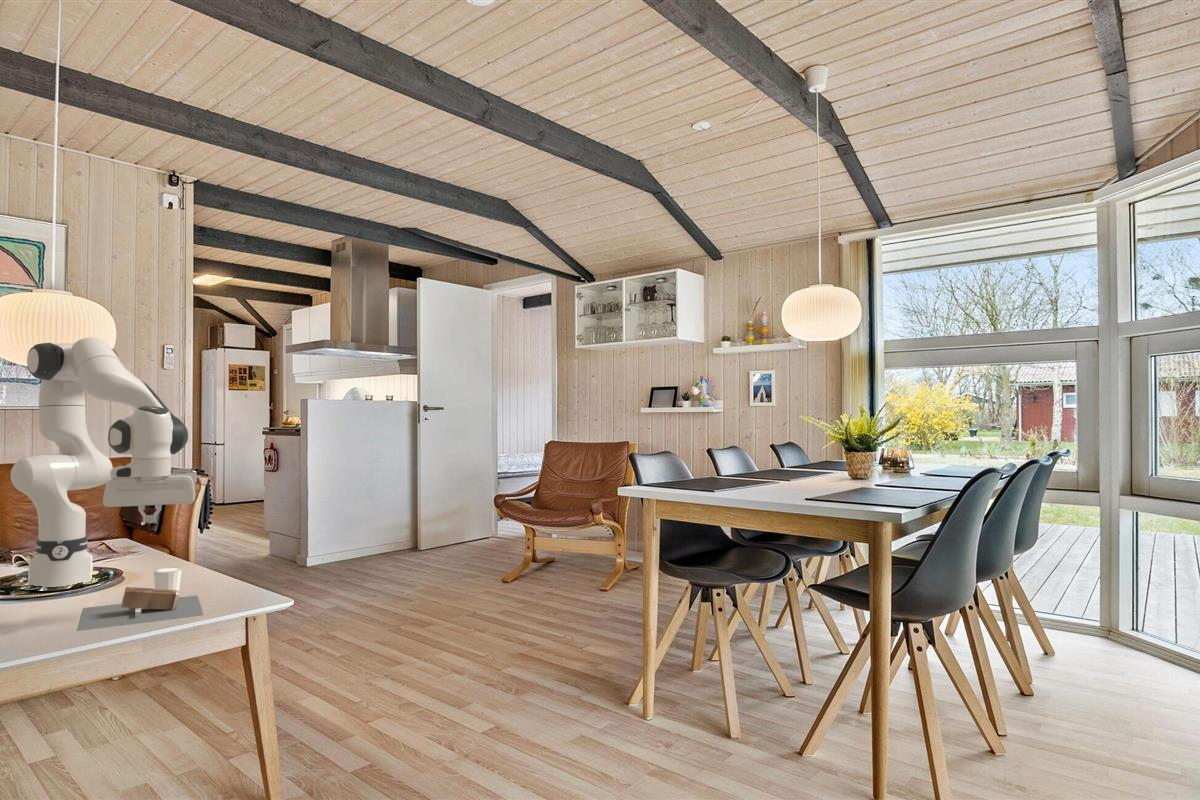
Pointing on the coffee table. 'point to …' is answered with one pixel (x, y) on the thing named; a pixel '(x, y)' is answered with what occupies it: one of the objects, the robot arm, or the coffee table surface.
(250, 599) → the coffee table surface
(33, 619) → the coffee table surface
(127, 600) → the walnut block
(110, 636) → the coffee table surface
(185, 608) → the slate mat
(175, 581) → the white cup
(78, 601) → the coffee table surface
